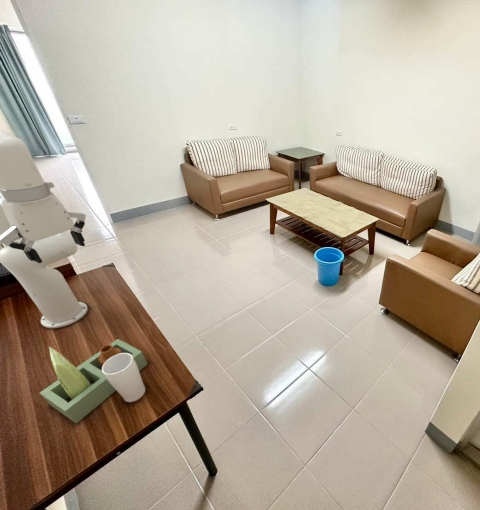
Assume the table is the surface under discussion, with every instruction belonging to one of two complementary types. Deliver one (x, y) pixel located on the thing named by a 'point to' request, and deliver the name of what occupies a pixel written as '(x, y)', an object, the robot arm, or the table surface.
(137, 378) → the white cup
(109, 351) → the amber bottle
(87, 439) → the table surface
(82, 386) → the tube
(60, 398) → the caddy
